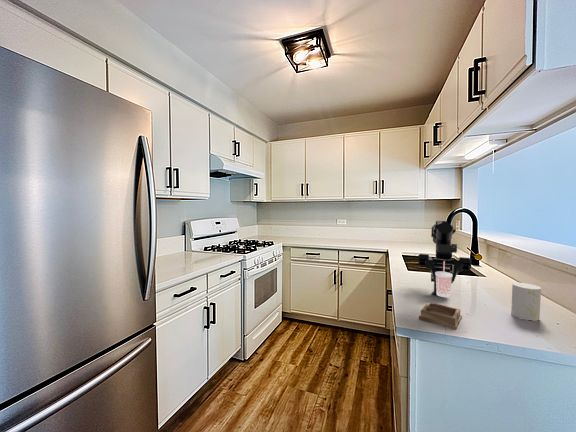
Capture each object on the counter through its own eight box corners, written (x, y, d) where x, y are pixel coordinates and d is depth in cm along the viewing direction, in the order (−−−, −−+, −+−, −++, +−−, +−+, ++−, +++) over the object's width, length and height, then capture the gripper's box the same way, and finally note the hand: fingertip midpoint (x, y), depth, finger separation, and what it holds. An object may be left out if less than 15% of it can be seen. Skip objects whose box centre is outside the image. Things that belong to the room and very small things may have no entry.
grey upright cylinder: (529, 322, 97) (531, 290, 96) (505, 313, 104) (507, 283, 104) (545, 319, 99) (546, 288, 98) (520, 311, 107) (522, 281, 106)
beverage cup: (455, 297, 104) (457, 262, 103) (443, 299, 102) (444, 263, 101) (442, 291, 110) (443, 258, 109) (430, 293, 108) (431, 260, 107)
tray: (427, 309, 108) (427, 301, 108) (461, 318, 100) (462, 309, 100) (418, 319, 99) (418, 310, 99) (456, 329, 91) (456, 319, 91)
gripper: (419, 235, 113) (417, 266, 104) (472, 237, 104) (474, 272, 95) (419, 249, 120) (417, 280, 111) (468, 253, 111) (471, 287, 102)
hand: (443, 280), depth 105 cm, fingers closed on beverage cup, 6 cm apart
